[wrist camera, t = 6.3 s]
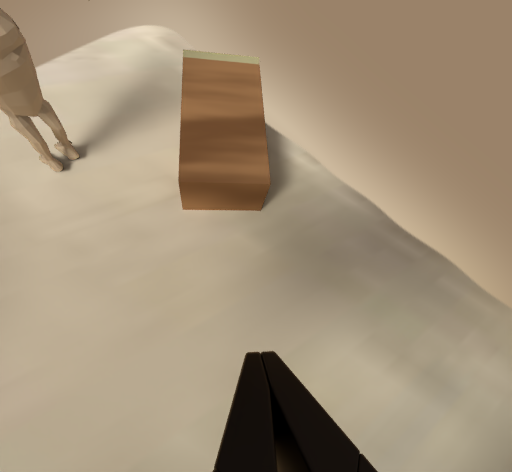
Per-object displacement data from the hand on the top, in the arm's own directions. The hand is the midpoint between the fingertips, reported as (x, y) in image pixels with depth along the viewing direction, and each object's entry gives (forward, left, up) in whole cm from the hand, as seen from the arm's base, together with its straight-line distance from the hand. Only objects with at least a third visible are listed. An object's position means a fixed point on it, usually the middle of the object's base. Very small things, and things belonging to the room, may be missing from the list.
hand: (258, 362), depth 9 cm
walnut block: (+6, -9, -9) cm, 14 cm away
